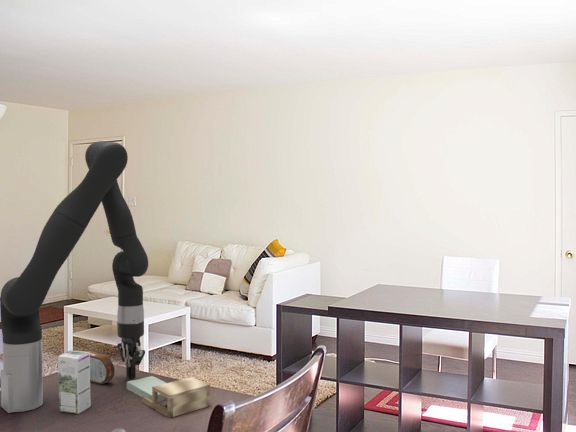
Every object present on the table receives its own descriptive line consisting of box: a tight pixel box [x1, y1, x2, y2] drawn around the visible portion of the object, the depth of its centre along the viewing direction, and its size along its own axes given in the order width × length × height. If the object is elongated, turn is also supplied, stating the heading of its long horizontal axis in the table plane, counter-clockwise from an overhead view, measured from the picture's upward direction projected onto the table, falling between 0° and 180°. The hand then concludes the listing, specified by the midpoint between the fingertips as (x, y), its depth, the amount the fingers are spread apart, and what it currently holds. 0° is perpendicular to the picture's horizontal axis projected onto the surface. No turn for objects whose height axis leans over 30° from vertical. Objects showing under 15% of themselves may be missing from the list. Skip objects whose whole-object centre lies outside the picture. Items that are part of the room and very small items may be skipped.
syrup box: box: [57, 350, 92, 415], centre depth 147 cm, size 6×6×14 cm
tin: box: [82, 349, 116, 385], centre depth 170 cm, size 15×3×8 cm, turn 58°
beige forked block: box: [142, 376, 211, 419], centre depth 151 cm, size 12×13×6 cm
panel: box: [126, 375, 167, 403], centre depth 160 cm, size 8×15×2 cm, turn 42°
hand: (131, 378), depth 170 cm, fingers closed
